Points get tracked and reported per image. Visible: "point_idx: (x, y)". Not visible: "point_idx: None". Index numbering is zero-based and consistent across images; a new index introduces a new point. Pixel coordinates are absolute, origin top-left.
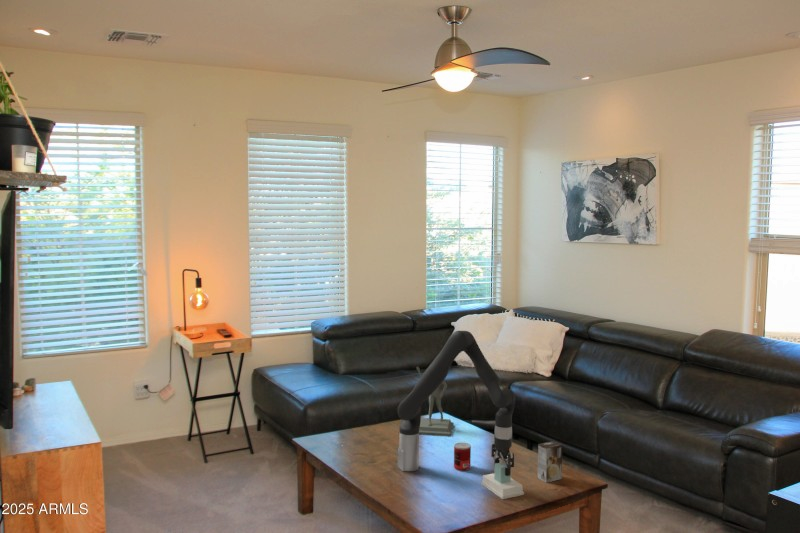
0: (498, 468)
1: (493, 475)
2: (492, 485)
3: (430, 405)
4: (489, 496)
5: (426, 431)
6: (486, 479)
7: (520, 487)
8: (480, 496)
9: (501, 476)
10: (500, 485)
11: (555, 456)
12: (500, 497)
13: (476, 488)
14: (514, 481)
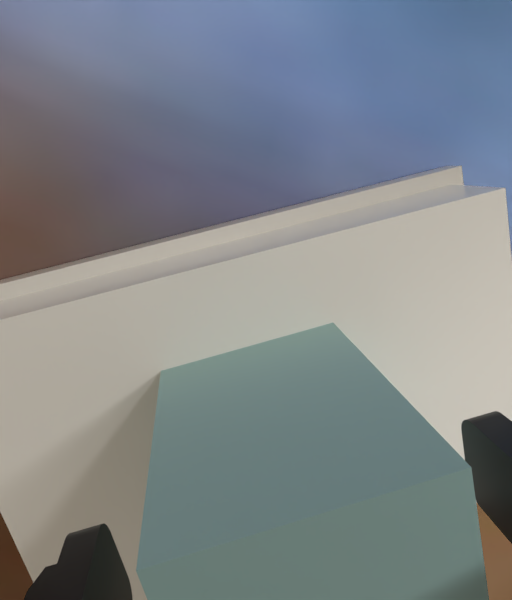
0: (259, 482)
1: (456, 346)
2: (222, 251)
3: None
4: (63, 149)
5: None
6: (391, 212)
7: None
8: (75, 16)
9: (157, 438)
10: (81, 345)
11: None
12: (4, 279)
13: (336, 54)
14: None
